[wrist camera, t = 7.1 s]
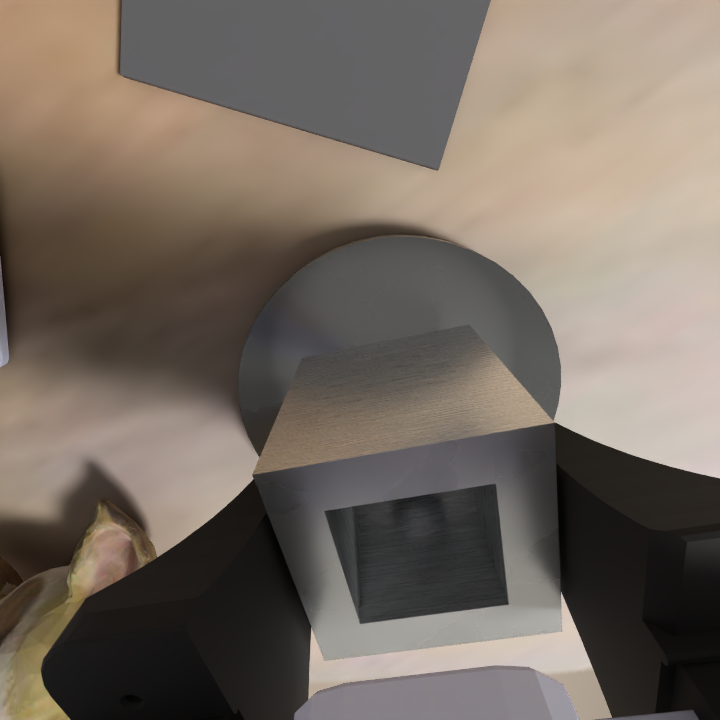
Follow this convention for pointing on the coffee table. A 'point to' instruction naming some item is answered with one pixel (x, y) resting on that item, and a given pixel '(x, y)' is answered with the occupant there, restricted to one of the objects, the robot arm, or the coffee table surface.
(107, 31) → the coffee table surface
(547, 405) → the hub
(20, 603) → the ceramic sculpture
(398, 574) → the grey hollow cube
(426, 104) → the mat
